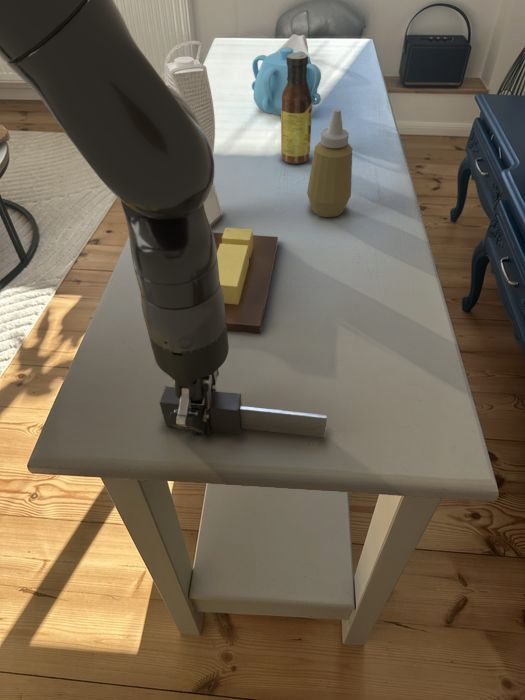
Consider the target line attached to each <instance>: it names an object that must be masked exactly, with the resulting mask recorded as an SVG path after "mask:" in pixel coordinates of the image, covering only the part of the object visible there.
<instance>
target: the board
mask: <svg viewBox="0 0 525 700" xmlns="http://www.w3.org/2000/svg"><path fill="white" fill-rule="evenodd" d="M212 232H213V231H212ZM223 233H224V232H213V236H214V240H215V244H216V251H218V248H219V245H220V244H222V236H223ZM278 246H279V236H274V235H273V236H271V235H256V234H253V250H252V254H251V258H249V265H248V269H247V273H246V277H245V281H244V285H243V289H242V293H241V297H240V300H239V304H238V305H237V304H226V303H225V315H226V324H227V331H229V332H230V331H231V332H243V333H253V334H261V330H262V325H263V321H264V315H265V311H266V305H267V301H268V295H269V290H270V286H271V281H272V276H273V270H274V265H275V260H276V255H277V250H278Z"/></svg>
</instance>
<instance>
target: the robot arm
mask: <svg viewBox="0 0 525 700" xmlns="http://www.w3.org/2000/svg"><path fill="white" fill-rule="evenodd" d="M0 59H1V60H2V61H3V62H6V65H7V66H8V67H9V68H10V69H11V70H12V71H13V72H14V73H15V74H16V75H17V76H18V77H19V78H20V79H21V80H23V82H24V83H25V84H27V85H28V87H30V88H31V89H32V90H33V92H34V93H36V95H37V96H38V97H39V98H40V100H41V102H43V104H44V105H45V106H46V108H47V109H48V111H49V112H50V113H51V115H52V116H53V117H54V119H55V121H56V122H57V124H58V125H59V127H60V128H61V129H62V130H63V132H64V133H65V135H66V136H67V138H69V140H70V141H71V143H72V144H73V145H74V147H75V148H76V150H77V151H78V152H79V154H80V155H81V157H83V159H84V160H85V161H86V163H87V164H88V165H89V166H90V168H91V169H92V170H93V172H94V173H95V174H96V175H97V177H98V178H99V179H100V180H101V181H102V183H103V184H104V185H105V186H106V187H107V188H108V189H109V190H110V192H111V193H112V194H114V196H116V198H118V200H120V204H121V207H122V211H123V214H124V217H125V220H126V225H127V230H128V231H127V232H128V238H129V239H128V240H129V247H130V254H131V261H132V266H133V269H134V274H135V277H136V281H137V286H138V288H139V292H140V301H141V303H140V304H141V309H142V315H143V319H144V322H145V327H146V330H147V335H148V338H149V341H150V345H151V349H152V352H153V353H152V354H153V356H154V360H155V363H156V365H157V366H158V368H159V369H160V370H161V371H162V372H164V373H165V374H166V375H167V376H168V377H170V378H171V379H172V387H174V388H175V394H176V396H177V398H178V403H179V408H178V409H175V410H174V412H171V413H170V415H169V418H168V420H169V424H170V425H172V426H174V427H176V428H175V429H179V430H181V431H191V433H192V435H193V436H194V437H200V438H201V437H202V438H207V437H210V436H211V433H212V432H211V426H210V419H209V411H208V409H209V407H210V404H211V400H212V397H211V391H217V381H218V377H219V375H220V372H219V369H220V368H221V367H222V366H223V364H224V363H225V362H226V360H227V358H228V355H229V347H230V346H229V336H228V335H229V334H228V330H227V324H226V315H225V303H224V296H223V292H222V288H221V285H220V280H219V270H218V260H217V251H216V244H215V240H214V236H213V229H212V226H210V224H209V221H208V219H207V216H206V213H205V208H204V202H205V201H206V199H207V197H208V196H209V194H210V191H211V189H212V185H213V183H214V181H215V173H216V172H215V159H214V152H213V153H212V150H211V147H210V144H209V142H208V140H207V138H206V136H205V134H204V132H203V130H202V128H201V127H200V125H199V123H198V121H197V119H196V117H195V115H194V113H193V111H192V110H191V108H190V107H189V105H188V104H187V102H186V101H185V100H184V99H183V98H182V97H181V96H180V95H179V94H178V93H177V92H176V91H174V90H173V89H171V88H170V87H168V86H167V85H166V84H165V80H163V79H162V77H161V75H160V74H159V73H158V72H157V70H156V69H155V67H153V65H152V63H151V61H149V59H148V58H147V57H146V55H145V54H144V53H143V51H142V50H141V48H140V47H139V46H138V44H137V42H136V41H135V39H134V37H133V35H132V33H131V31H130V29H129V27H128V24H126V21H125V19H124V17H123V15H122V13H121V11H120V9H119V7H118V6H117V4H116V2H115V0H0ZM192 408H196V409H192ZM197 409H200V410H197Z"/></svg>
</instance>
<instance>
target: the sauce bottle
mask: <svg viewBox="0 0 525 700" xmlns="http://www.w3.org/2000/svg"><path fill="white" fill-rule="evenodd" d="M307 64H308V55H307V54H304V53H292V54H289V55H287V66H288V77H287V81H288V82H287V85H286V86H285V88H284V90H283V92H282V108H281V115H280V142H281V143H280V152H281V159H282V161H284V162H285V163H287V164H290V165H291V164H292V165H299V164H304V163H306V162H307V161H309V158H310V152H311V139H312V137H311V136H312V119H313V117H312V115H313V114H312V113H313V104H312V98H311V94H310V90H309V86H308V82H307Z"/></svg>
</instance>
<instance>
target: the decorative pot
mask: <svg viewBox="0 0 525 700" xmlns="http://www.w3.org/2000/svg"><path fill="white" fill-rule="evenodd" d="M280 48H281V47H280ZM280 48H279V49H280ZM275 52H276V51H275ZM275 52H273V53H271V54H268V55H266V54H260V55H257V56H256V57H255V58H254V59H253V60H252V73H253V76H254V81H252V83H251V89H252V91H253V100H254V102H255V105H256V106H257V107H258V109H259V110H261V111H262V112H263V113H266V114H269V113H270V114H274V115H280V116H281V108H282V92H283V90H284V88H285V86H286V85H287V82H288V81H287V77H288V66H287V55H289V54H292V53H296V52H293V49H292V48H289V47H284V48H281V49H280V52H276V53H275ZM297 53H304V52H301V51H299V52H297ZM304 54H305V53H304ZM259 61H262V62H261V64H260V67H259ZM321 81H322V72H321V70H320V68H319V67H318V66H317V65H315V64H314V63H312V61H311V57H310V58H309V57H308V64H307V82H308V86H309V90H310V94H311V98H312V106H317V105H319V104H320V103H321V100H322V98H321V94H319V93H318V89H319V86H320V83H321Z"/></svg>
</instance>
